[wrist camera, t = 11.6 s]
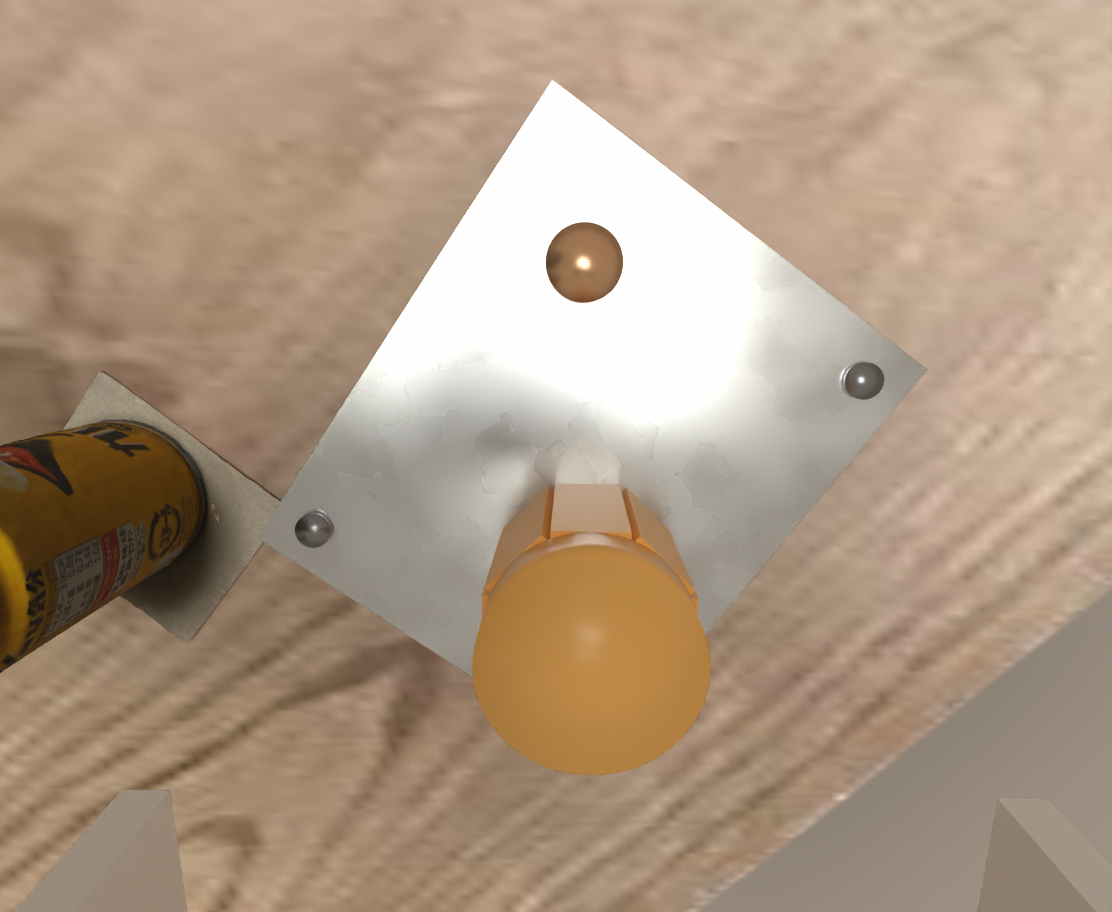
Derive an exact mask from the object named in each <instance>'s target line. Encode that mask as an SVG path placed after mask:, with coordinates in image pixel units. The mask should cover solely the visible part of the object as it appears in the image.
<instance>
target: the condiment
mask: <svg viewBox="0 0 1112 912" xmlns="http://www.w3.org/2000/svg"><path fill="white" fill-rule="evenodd" d="M280 502H281V501H279V500H278V499H276V498H274V497H273V496H272V495H270V494H269V493H267V492H266V491H265V490H264V489H263V488H261V487H260V486H259V485H257V484H256V483H255V482H253V481H251V480H250V479H248V478H246V477H245V476H244V475H242V474H241V473H240V472H239V471H238V470H236V469H235V468H233V467H232V466H231V465H230V464H228V463H227V462H225V461H223V460H222V459H221V458H219V457H218V456H217V455H216V454H215V453H213V452H212V451H210V450H209V449H208V448H207V447H206V446H204V445H203V444H201V443H200V442H199V441H198V440H197V439H195V438H194V437H193V436H191V435H190V434H189V433H187V432H186V431H185V430H183V429H182V428H181V427H179V426H178V425H176V424H175V423H174V422H172V421H171V420H169V419H168V418H167V417H165V416H164V415H163V414H161V413H160V412H158V411H157V410H156V409H154V408H153V407H152V406H150V405H149V404H148V403H146V402H145V401H144V400H142V399H141V398H139V397H138V396H136V395H134V394H133V393H132V392H131V391H130V390H128V389H127V388H126V387H124V386H123V385H121V384H120V383H119V382H117V381H116V380H114V379H113V378H111V377H110V376H108V375H106V374H105V373H103V372H101V371H100V370H99V372H98V374H97V375H96V377H95V379H94V380H93V381H92V383H91V385H90V386H89V388H88V390H87V391H86V393H85V394H84V396H83V399H82V400H81V401H80V403H79V404H78V406H77V408H76V410H75V412H74V413H73V415H72V416H71V418H70V420H69V421H68V423H67V424H66V426H65V427H64V429H63V430H61V431H58V432H53V433H46V434H44V435H41V436H36V437H32V438H29V439H25V440H19V441H15V442H12V443H9V444H5V445H2V446H0V673H1V672H2V671H3V670H5V669H7V668H8V667H9V666H11V665H12V664H14V663H16V662H17V661H19V660H20V659H22V658H23V657H25V656H26V655H28V654H29V653H31V652H33V651H34V650H36V649H37V648H38V647H40V646H42V645H43V644H45V643H46V642H48V641H50V640H51V639H53V638H54V637H56V636H57V635H59V634H60V633H62V632H64V631H65V630H67V629H68V628H70V627H71V626H73V625H74V624H76V623H77V622H79V621H80V620H82V619H84V618H85V617H87V616H88V615H90V614H91V613H93V612H94V611H96V610H98V609H99V608H101V607H102V606H104V605H105V604H107V603H108V602H110V601H112V600H113V599H115V598H116V597H118V596H121V597H123V598H124V599H126V600H128V601H129V602H130V603H132V604H133V605H134V606H135V607H137V608H139V609H141V610H143V611H144V612H145V613H147V614H148V615H149V616H151V617H152V618H154V619H155V620H156V621H157V622H158V623H159V624H161V625H162V626H163V627H164V628H165V629H166V630H168V631H170V632H171V633H173V634H175V635H176V636H178V637H179V638H181V639H182V640H183V641H185V642H187V643H189V641H190V640H191V639H192V637H193V636H194V635H195V633H196V632H197V631H198V629H199V628H200V627H201V626H202V624H203V623H204V622H205V620H206V619H207V618H208V616H209V615H210V614H211V612H212V611H213V610H214V608H215V607H216V606H217V604H218V603H219V601H220V600H221V599H222V598H223V596H224V595H225V594H226V592H227V591H228V590H229V588H230V587H231V586H232V584H233V583H234V582H235V580H236V579H237V577H238V576H239V575H240V573H241V572H242V571H243V569H244V568H245V567H246V566H247V564H248V563H249V562H250V560H251V559H252V557H253V556H254V554H255V553H256V551H257V550H258V549H259V547H260V546H261V545H262V543H263V541H261V540H260V539H258V538H257V537H258V536H259V534H260V533H261V531H262V529H263V528H264V526H265V525H266V523H267V522H268V520H269V519H270V517H271V515H272V514H273V512H274V511H275V509H276V508H277V506H278V505H279V503H280ZM213 503H214V504H215V508H216V510H215V511H213V510H211V504H213ZM215 513H218V515H219V517H220V521H219V522H217V521H216V519H215V516H214V515H215Z"/></svg>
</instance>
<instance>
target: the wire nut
mask: <svg viewBox="0 0 1112 912" xmlns="http://www.w3.org/2000/svg"><path fill="white" fill-rule="evenodd" d="M698 601H699V599H698V596H697V594H696V592H695V589H694V586H693V584H692V582H691V579H690V577H689V575H688V572H687V570H686V567H685V565H684V563H683V560H682V558H681V556H680V553H679V551H678V549H677V546H676V544H675V542H674V539H673V537H672V535H671V532H670V531H669V530H668V529H667V528H666V527H665V526H664V525H663V524H662V523H661V522H660V521H659V520H658V519H657V518H656V517H655V516H654V515H653V514H652V513H651V512H650V511H649V510H648V509H647V508H646V507H645V506H644V505H643V504H642V502H641V501H640V500H639V499H638V498H637V497H636V496H635V495H634V494H633V493H632V492H631V491H630V490H629V489H628V488H627V487H626V488H625V489H624V490H623V491H622V492H621V489H620V485H619V484H556V483H555V489H554V492H553V491H552V490H551V489H550V488H549V487H547V488H546V489H544V490H543V491H542V492H541V493H540V494H539V495H538V496H537V497H536V498H535V499H534V500H533V501H532V502H531V503H530V504H529V505H528V506H527V507H525V508H524V509H523V510H522V511H521V512H520V513H519V514H518V515H517V516H516V517H515V518H514V519H513V520H512V521H511V522H510V523H509V524H508V525H506V526H505V527H504V528H503V531H502V534H501V535H500V538H499V541H498V544H497V547H496V551H495V554H494V557H493V560H492V564H491V567H490V570H489V573H488V576H487V580H486V583H485V586H484V589H483V592H482V620H481V623H480V627H479V630H478V634H477V637H476V641H475V646H474V651H473V660H472V674H473V684H474V688H475V692H476V696H477V699H478V701H479V704H480V706H481V709H482V711H483V713H484V715H485V716H486V718H487V720H488V722H489V723H490V724H491V726H492V727H493V728H494V730H495V731H496V732H497V734H498V735H499V736H500V737H501V738H502V739H503V740H504V741H505V742H506V743H507V744H508V745H510V746H511V747H512V748H513V749H515V750H516V751H517V752H518V753H520V754H522V755H523V756H525V757H526V758H528V759H530V760H531V761H534V762H536V763H538V764H540V765H542V766H545V767H548V768H551V769H554V770H557V771H561V772H566V773H571V774H579V775H605V774H612V773H619V772H622V771H626V770H630V769H633V768H636V767H638V766H641V765H643V764H646V763H648V762H650V761H651V760H653V759H655V758H657V757H659V756H660V755H662V754H663V753H665V752H666V751H667V750H669V749H670V748H672V747H673V746H674V745H675V744H676V743H677V742H678V741H679V740H680V739H681V738H682V737H683V736H684V735H685V734H686V732H687V731H688V730H689V729H690V728H691V726H692V725H693V723H694V721H695V720H696V718H697V717H698V715H699V713H700V711H701V709H702V706H703V704H704V702H705V699H706V695H707V692H708V688H709V682H710V674H711V660H710V653H709V647H708V643H707V639H706V636H705V633H704V630H703V628H702V625H701V623H700V620H699V618H698Z"/></svg>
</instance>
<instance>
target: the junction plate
mask: <svg viewBox="0 0 1112 912" xmlns="http://www.w3.org/2000/svg"><path fill="white" fill-rule="evenodd" d="M926 371H927V369H926V368H925V367H923V366H922V365H921V364H920V363H918V362H917V361H916V360H914V359H913V358H912V357H911V356H909V355H908V354H907V353H905V352H904V351H903V350H901V349H900V348H899V347H898V346H896V345H895V344H894V343H892V342H891V341H890V340H889V339H887V338H886V337H885V336H883V335H882V334H881V333H879V332H878V331H877V330H876V329H874V328H873V327H872V326H870V325H869V324H868V323H867V322H865V321H864V320H863V319H861V318H860V317H859V316H857V315H856V314H855V313H854V312H852V311H851V310H850V309H848V308H847V307H846V306H845V305H843V304H842V303H841V302H839V301H838V300H837V299H835V298H834V297H833V296H832V295H830V294H829V293H828V292H826V291H825V290H824V289H823V288H821V287H820V286H819V285H817V284H816V283H815V282H813V281H812V280H811V279H810V278H808V277H807V276H806V275H804V274H803V273H802V272H801V271H799V270H798V269H797V268H795V267H794V266H793V265H792V264H790V263H789V262H788V261H786V260H785V259H784V258H782V257H781V256H780V255H779V254H777V253H776V252H775V251H773V250H772V249H771V248H770V247H768V246H767V245H766V244H764V243H763V242H762V241H760V240H759V239H758V238H757V237H755V236H754V235H753V234H751V233H750V232H749V231H748V230H746V229H745V228H744V227H742V226H741V225H740V224H738V223H737V222H736V221H735V220H733V219H732V218H731V217H729V216H728V215H727V214H726V213H724V212H723V211H722V210H720V209H719V208H718V207H716V206H715V205H714V204H713V203H711V202H710V201H709V200H707V199H706V198H705V197H704V196H702V195H701V194H700V193H698V192H697V191H696V190H694V189H693V188H692V187H691V186H689V185H688V184H687V183H685V182H684V181H683V180H682V179H680V178H679V177H678V176H676V175H675V174H674V173H672V172H671V171H670V170H669V169H667V168H666V167H665V166H663V165H662V164H661V163H660V162H658V161H657V160H656V159H654V158H653V157H652V156H650V155H649V154H648V153H647V152H645V151H644V150H643V149H641V148H640V147H639V146H638V145H636V144H635V143H634V142H632V141H631V140H630V139H628V138H627V137H626V136H625V135H623V134H622V133H621V132H619V131H618V130H617V129H616V128H614V127H613V126H612V125H610V124H609V123H608V122H606V121H605V120H604V119H603V118H601V117H600V116H599V115H597V114H596V113H595V112H594V111H592V110H591V109H590V108H588V107H587V106H586V105H584V104H583V103H582V102H581V101H579V100H578V99H577V98H575V97H574V96H573V95H572V94H570V93H569V92H568V91H566V90H565V89H564V88H562V87H561V86H560V85H559V84H557V83H556V82H555V81H553V80H552V81H551V83H550V84H549V86H548V87H547V89H546V90H545V92H544V94H543V95H542V97H541V98H540V100H539V101H538V103H537V104H536V106H535V107H534V109H533V111H532V112H531V114H530V115H529V117H528V118H527V120H526V121H525V123H524V125H523V126H522V128H521V129H520V131H519V132H518V134H517V135H516V137H515V139H514V140H513V142H512V143H511V145H510V146H509V148H508V149H507V151H506V152H505V154H504V156H503V157H502V159H501V160H500V162H499V163H498V165H497V166H496V168H495V170H494V171H493V173H492V174H491V176H490V177H489V179H488V180H487V182H486V184H485V185H484V187H483V188H482V190H481V191H480V193H479V194H478V196H477V197H476V199H475V201H474V202H473V204H472V205H471V207H470V208H469V210H468V211H467V213H466V215H465V216H464V218H463V219H462V221H461V222H460V224H459V225H458V227H457V228H456V230H455V232H454V233H453V235H452V236H451V238H450V239H449V241H448V242H447V244H446V246H445V247H444V249H443V250H442V252H441V253H440V255H439V256H438V258H437V260H436V261H435V263H434V264H433V266H432V267H431V269H430V270H429V272H428V273H427V275H426V277H425V278H424V280H423V281H422V283H421V284H420V286H419V287H418V289H417V291H416V292H415V294H414V295H413V297H412V298H411V300H410V301H409V303H408V304H407V306H406V308H405V309H404V311H403V312H402V314H401V315H400V317H399V318H398V320H397V322H396V323H395V325H394V326H393V328H392V329H391V331H390V332H389V334H388V336H387V337H386V339H385V340H384V342H383V343H382V345H381V346H380V348H379V349H378V351H377V353H376V354H375V356H374V357H373V359H372V360H371V362H370V363H369V365H368V367H367V368H366V370H365V371H364V373H363V374H362V376H361V377H360V379H359V381H358V382H357V384H356V385H355V387H354V388H353V390H352V391H351V393H350V394H349V396H348V398H347V399H346V401H345V402H344V404H343V405H342V407H341V408H340V410H339V412H338V413H337V415H336V416H335V418H334V419H333V421H332V422H331V424H330V425H329V427H328V429H327V430H326V432H325V433H324V435H323V436H322V438H321V439H320V441H319V443H318V444H317V446H316V447H315V449H314V450H313V452H312V453H311V455H310V457H309V458H308V460H307V461H306V463H305V464H304V466H303V467H302V469H301V470H300V472H299V474H298V475H297V477H296V478H295V480H294V481H293V483H292V484H291V486H290V488H289V489H288V491H287V492H286V494H285V495H284V497H283V498H282V500H281V502H280V503H279V505H278V506H277V508H276V509H275V511H274V512H273V514H272V515H271V517H270V519H269V520H268V522H267V523H266V525H265V526H264V528H263V529H262V531H261V533H260V534H259V536H258V537H257V538H258V539H260V540H261V541H263V542H264V543H266V544H267V545H269V546H270V547H272V548H274V549H275V550H277V551H278V552H280V553H281V554H283V555H284V556H286V557H287V558H289V559H291V560H292V561H294V562H295V563H297V564H298V565H300V566H301V567H303V568H304V569H306V570H308V571H309V572H311V573H312V574H314V575H315V576H317V577H318V578H320V579H321V580H323V581H325V582H326V583H328V584H329V585H331V586H332V587H334V588H335V589H337V590H338V591H340V592H342V593H343V594H345V595H346V596H348V597H349V598H351V599H352V600H354V601H356V602H357V603H359V604H360V605H362V606H363V607H365V608H366V609H368V610H369V611H371V612H373V613H374V614H376V615H377V616H379V617H380V618H382V619H383V620H385V621H386V622H388V623H390V624H391V625H393V626H394V627H396V628H397V629H399V630H400V631H402V632H403V633H405V634H407V635H408V636H410V637H411V638H413V639H414V640H416V641H417V642H419V643H420V644H422V645H424V646H425V647H427V648H428V649H430V650H431V651H433V652H434V653H436V654H438V655H439V656H441V657H442V658H444V659H445V660H447V661H448V662H450V663H451V664H453V665H455V666H456V667H458V668H459V669H461V670H462V671H464V672H465V673H467V674H468V675H470V676H472V677H473V674H472V660H473V651H474V646H475V641H476V637H477V634H478V630H479V627H480V623H481V620H482V592H483V589H484V586H485V583H486V580H487V576H488V573H489V570H490V567H491V564H492V560H493V557H494V554H495V551H496V547H497V544H498V541H499V538H500V535H501V534H502V531H503V528H504V527H505V526H506V525H508V524H509V523H510V522H511V521H512V520H513V519H514V518H515V517H516V516H517V515H518V514H519V513H520V512H521V511H522V510H523V509H524V508H525V507H527V506H528V505H529V504H530V503H531V502H532V501H533V500H534V499H535V498H536V497H537V496H538V495H539V494H540V493H541V492H542V491H543V490H544V489H546V488H547V487H549V488H550V489H551V490H552V491H553V492H554V489H555V483H556V484H619V485H620V489H621V492H622V491H623V490H624V489H625V488H626V487H627V488H628V489H629V490H630V491H631V492H632V493H633V494H634V495H635V496H636V497H637V498H638V499H639V500H640V501H641V502H642V504H643V505H644V506H645V507H646V508H647V509H648V510H649V511H650V512H651V513H652V514H653V515H654V516H655V517H656V518H657V519H658V520H659V521H660V522H661V523H662V524H663V525H664V526H665V527H666V528H667V529H668V530H669V531H670V532H671V535H672V537H673V539H674V542H675V544H676V546H677V549H678V551H679V553H680V556H681V558H682V560H683V563H684V565H685V567H686V570H687V572H688V575H689V577H690V579H691V582H692V584H693V586H694V589H695V592H696V594H697V596H698V599H699V601H698V618H699V620H700V623H701V625H702V628H703V630H704V633H705V634H706V633H707V632H708V631H709V630H710V628H711V627H712V626H713V625H714V624H715V623H716V621H717V620H718V619H719V618H720V617H721V615H722V614H723V613H724V612H725V611H726V609H727V608H728V607H729V606H730V605H731V603H732V602H733V601H734V600H735V599H736V597H737V596H738V595H739V594H740V593H741V592H742V590H743V589H744V588H745V587H746V586H747V584H748V583H749V582H750V581H751V580H752V578H753V577H754V576H755V575H756V574H757V572H758V571H759V570H760V569H761V568H762V566H763V565H764V564H765V563H766V562H767V561H768V559H769V558H770V557H771V556H772V555H773V553H774V552H775V551H776V550H777V549H778V547H779V546H780V545H781V544H782V543H783V541H784V540H785V539H786V538H787V537H788V535H789V534H790V533H791V532H792V531H793V530H794V528H795V527H796V526H797V525H798V524H799V522H800V521H801V520H802V519H803V518H804V516H805V515H806V514H807V513H808V512H809V510H810V509H811V508H812V507H813V506H814V504H815V503H816V502H817V501H818V500H819V499H820V497H821V496H822V495H823V494H824V493H825V491H826V490H827V489H828V488H829V487H830V485H831V484H832V483H833V482H834V481H835V479H836V478H837V477H838V476H839V475H840V473H841V472H842V471H843V470H844V469H845V468H846V466H847V465H848V464H849V463H850V462H851V460H852V459H853V458H854V457H855V456H856V454H857V453H858V452H859V451H860V450H861V448H862V447H863V446H864V445H865V444H866V442H867V441H868V440H869V439H870V438H871V437H872V435H873V434H874V433H875V432H876V431H877V429H878V428H879V427H880V426H881V425H882V423H883V422H884V421H885V420H886V419H887V417H888V416H889V415H890V414H891V413H892V411H893V410H894V409H895V408H896V407H897V406H898V404H899V403H900V402H901V401H902V400H903V398H904V397H905V396H906V395H907V394H908V392H909V391H910V390H911V389H912V388H913V386H914V385H915V384H916V383H917V382H918V380H919V379H920V378H921V377H922V376H923V375H924V373H925V372H926Z"/></svg>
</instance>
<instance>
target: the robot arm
mask: <svg viewBox="0 0 1112 912" xmlns="http://www.w3.org/2000/svg"><path fill="white" fill-rule="evenodd" d="M14 912H187V906H186V899H185V892H184V885H183V878H182V871H181V864H180V857H179V850H178V843H177V836H176V829H175V822H174V815H173V808H172V801H171V794H170V790H121V791H120V793H119V794H118V795H117V796H116V797H115V798H114V799H113V800H112V802H111V803H110V804H109V805H108V806H107V807H106V808H105V809H104V811H103V812H102V813H101V814H100V815H99V816H98V817H97V818H96V820H95V821H94V822H93V823H92V824H91V825H90V826H89V828H88V829H87V830H86V831H85V832H84V833H83V834H82V835H81V837H80V838H79V839H78V840H77V841H76V842H75V843H74V844H73V846H72V847H71V848H70V849H69V850H68V851H67V852H66V853H65V855H64V856H63V857H62V858H61V859H60V860H59V861H58V863H57V864H56V865H55V866H54V867H53V868H52V869H51V870H50V872H49V873H48V874H47V875H46V876H45V877H44V878H43V879H42V881H41V882H40V883H39V884H38V885H37V886H36V887H35V888H34V890H33V891H32V892H31V893H30V894H29V895H28V896H27V898H26V899H25V900H24V901H23V902H22V903H21V904H20V905H19V907H18V908H17V909H16V910H15V911H14ZM977 912H1112V867H1111V866H1110V865H1109V864H1108V863H1107V862H1106V861H1105V860H1104V859H1103V858H1102V856H1100V855H1099V854H1098V853H1097V851H1096V850H1095V849H1094V848H1093V847H1092V846H1091V845H1090V844H1089V843H1088V842H1087V841H1086V840H1085V839H1084V838H1083V837H1082V836H1081V835H1080V834H1079V833H1078V832H1077V831H1076V830H1075V829H1074V827H1072V826H1071V824H1070V823H1068V821H1067V820H1066V819H1065V818H1064V817H1063V816H1062V815H1061V814H1060V813H1059V812H1058V811H1057V810H1056V809H1055V808H1054V807H1053V806H1052V805H1051V804H1050V803H1049V802H1048V801H1047V800H1046V799H998V800H997V806H996V811H995V817H994V822H993V828H992V834H991V839H990V844H989V850H988V856H987V861H986V866H985V872H984V877H983V883H982V888H981V894H980V899H979V905H978V910H977Z"/></svg>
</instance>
